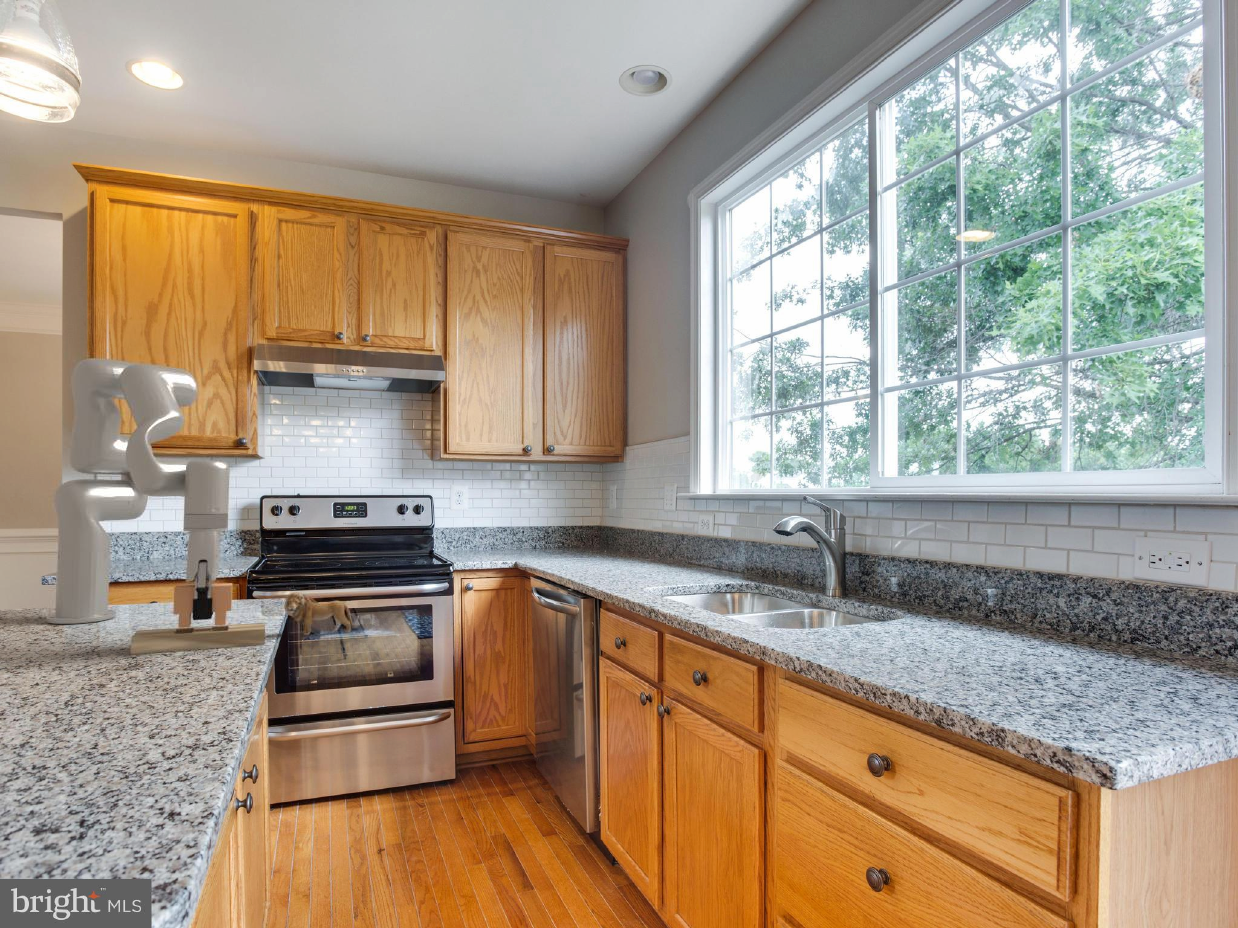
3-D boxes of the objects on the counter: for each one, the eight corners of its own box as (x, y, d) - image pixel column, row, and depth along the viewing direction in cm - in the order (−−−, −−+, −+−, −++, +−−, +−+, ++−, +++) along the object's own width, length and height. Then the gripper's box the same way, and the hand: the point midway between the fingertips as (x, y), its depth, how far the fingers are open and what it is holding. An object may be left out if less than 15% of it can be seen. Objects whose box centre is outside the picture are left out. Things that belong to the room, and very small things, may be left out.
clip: (174, 624, 138) (176, 585, 138) (231, 621, 142) (232, 583, 142) (172, 628, 134) (174, 587, 135) (230, 624, 139) (231, 585, 139)
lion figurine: (284, 638, 146) (286, 594, 146) (282, 633, 150) (283, 591, 150) (359, 632, 153) (360, 590, 153) (355, 627, 158) (356, 587, 158)
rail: (136, 646, 136) (137, 630, 136) (264, 637, 146) (265, 622, 146) (130, 654, 130) (131, 637, 130) (264, 644, 140) (265, 629, 140)
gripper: (187, 521, 145) (184, 611, 144) (179, 525, 130) (175, 626, 129) (229, 520, 148) (227, 609, 147) (226, 525, 133) (222, 623, 133)
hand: (203, 616), depth 138 cm, fingers closed on clip, 3 cm apart
